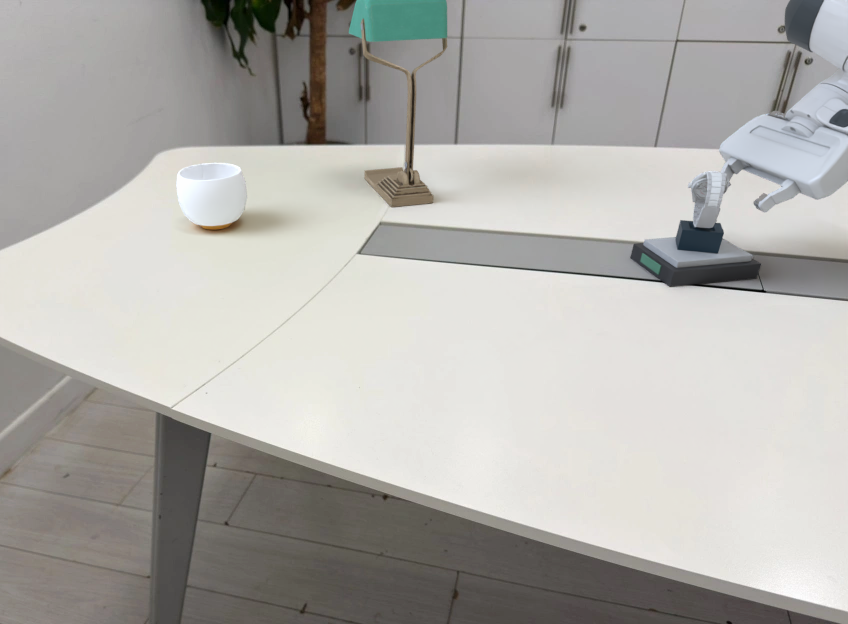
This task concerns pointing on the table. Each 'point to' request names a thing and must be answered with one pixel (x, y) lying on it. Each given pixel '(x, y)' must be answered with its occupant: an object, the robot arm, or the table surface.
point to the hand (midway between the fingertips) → (736, 197)
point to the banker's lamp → (407, 20)
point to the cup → (212, 194)
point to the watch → (704, 214)
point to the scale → (694, 262)
